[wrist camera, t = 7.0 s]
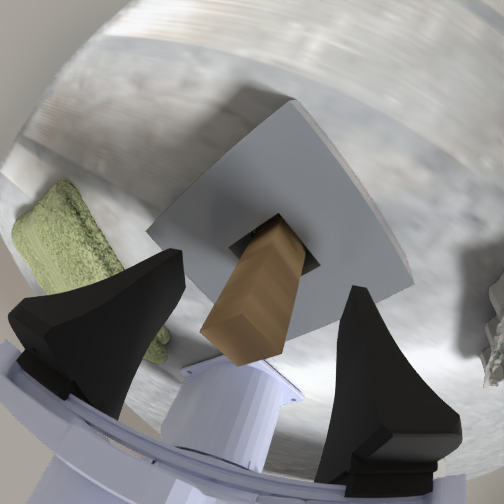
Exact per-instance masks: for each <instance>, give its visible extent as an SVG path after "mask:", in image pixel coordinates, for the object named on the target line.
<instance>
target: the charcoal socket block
mask: <svg viewBox="0 0 504 504" xmlns="http://www.w3.org/2000/svg"><path fill="white" fill-rule="evenodd" d="M277 213H279V214H280V215H281V216H282V217H283V219H284V220H285V221H286V222H287V223H288V225H289V226H290V227H291V228H292V230H293V231H294V232H295V233H296V235H297V236H298V237H299V238H300V240H301V241H302V242H303V243H304V245H305V246H306V247H307V248H308V250H306V254H305V259H304V264H303V268H302V273H301V277H300V282H299V286H298V290H297V295H296V299H295V303H294V307H293V311H292V316H291V320H290V324H289V328H288V332H287V336H286V340H285V341H288V340H291V339H293V338H296V337H298V336H301V335H304V334H306V333H309V332H311V331H314V330H316V329H319V328H321V327H323V326H326V325H328V324H331V323H333V322H335V321H338V320H340V319H341V317H342V314H343V311H344V308H345V305H346V302H347V299H348V296H349V293H350V290H351V287H352V285H356V286H361V287H366V288H367V289H368V291H369V293H370V295H371V297H372V299H373V301H374V303H377V302H380V301H382V300H384V299H386V298H388V297H390V296H392V295H394V294H396V293H398V292H400V291H402V290H404V289H406V288H408V287H410V286H412V285H414V284H415V283H414V280H413V277H412V273H411V270H410V267H409V264H408V261H407V258H406V255H405V254H404V252H403V250H402V248H401V246H400V245H399V243H398V241H397V239H396V238H395V236H394V234H393V233H392V231H391V229H390V228H389V226H388V224H387V223H386V221H385V219H384V218H383V216H382V214H381V213H380V211H379V210H378V208H377V206H376V205H375V203H374V202H373V200H372V199H371V197H370V196H369V194H368V192H367V191H366V189H365V188H364V186H363V185H362V183H361V182H360V181H359V179H358V178H357V176H356V175H355V173H354V172H353V170H352V169H351V168H350V166H349V165H348V163H347V162H346V161H345V159H344V158H343V157H342V155H341V154H340V152H339V151H338V150H337V148H336V147H335V146H334V144H333V143H332V142H331V141H330V139H329V138H328V137H327V135H326V134H325V133H324V131H323V130H322V129H321V128H320V126H319V125H318V124H317V123H316V121H315V120H314V119H313V118H312V117H311V115H310V114H309V113H308V112H307V111H306V109H305V108H304V107H303V106H302V105H301V103H300V102H299V101H298V100H290V101H288V102H287V103H286V104H284V105H283V106H282V107H280V108H279V109H278V110H277V111H275V112H274V113H273V114H272V115H270V116H269V117H268V118H267V119H265V120H264V121H263V122H262V123H261V124H259V125H258V126H257V127H256V128H255V129H253V130H252V131H251V132H250V133H249V134H247V135H246V136H245V137H244V138H243V139H242V140H240V141H239V142H238V143H237V144H236V145H235V146H233V147H232V148H231V149H230V150H229V151H228V152H227V153H226V154H224V155H223V156H222V157H221V158H220V159H219V160H218V161H217V162H215V163H214V164H213V165H212V166H211V167H210V168H209V169H208V170H207V171H206V172H205V173H204V174H202V175H201V176H200V177H199V178H198V179H197V180H196V181H195V182H194V183H193V184H192V185H191V186H190V187H189V188H188V189H187V190H186V191H185V192H184V193H183V194H182V195H181V196H179V197H178V198H177V199H176V200H175V201H174V202H173V203H172V204H171V205H170V206H169V207H168V208H167V209H166V210H165V211H164V212H163V213H162V215H161V216H160V217H159V218H158V219H157V220H156V221H155V222H154V223H153V224H152V225H151V226H150V227H149V228H148V229H147V230H146V232H147V234H148V235H149V236H150V237H151V238H152V239H153V240H154V241H155V242H156V243H157V245H158V246H159V247H160V248H161V249H162V250H163V251H164V250H166V249H169V248H173V249H178V250H182V254H183V265H184V274H185V275H186V276H187V277H188V278H189V279H190V280H191V281H192V282H193V283H194V284H195V285H196V286H197V287H198V288H199V289H200V290H201V291H202V292H203V293H204V294H205V295H206V296H207V297H208V298H209V299H210V300H211V301H212V302H213V303H214V304H215V303H216V301H217V299H218V297H219V296H220V294H221V292H222V290H223V288H224V287H225V285H226V283H227V281H228V280H229V278H230V276H231V274H232V272H233V271H234V269H235V267H236V265H237V263H238V262H239V260H240V258H241V256H242V255H243V253H244V251H245V249H246V247H247V246H248V244H249V242H250V240H251V239H252V237H253V236H252V235H251V234H250V232H251V231H252V230H254V229H255V228H257V227H258V226H260V225H261V224H263V223H264V222H266V221H267V220H269V219H270V218H271V217H273V216H274V215H276V214H277Z"/></svg>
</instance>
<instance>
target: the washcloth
mask: <svg viewBox="0 0 504 504" xmlns="http://www.w3.org/2000/svg"><path fill="white" fill-rule="evenodd" d="M12 241H13V244H14V246H15V248H16V250H17V251H18V253H19V254H20V255H21V257H22V258H23V260H24V261H25V262H26V263H27V265H28V266H29V267H30V269H31V270H32V272H33V274H34V276H35V278H36V280H37V282H38V284H39V285H40V287H41V288H42V289H43V290H44V291H45V293H46V294H47V295H52V294H57V293H62V292H66V291H70V290H74V289H77V288H80V287H84V286H87V285H90V284H93V283H96V282H98V281H101V280H104V279H106V278H108V277H111V276H113V275H115V274H117V273H119V272H121V271H124V269H123V267H122V265H121V263H120V261H118V260H117V257H116V256H115V254H114V252H113V251H112V250H111V248H110V246H109V245H108V243H107V241H106V238H105V236H103V234H102V231H101V230H100V229H99V228H98V227H97V225H96V222H95V221H94V218H93V217H91V214H90V211H89V209H88V207H86V205H85V204H84V202H83V200H82V197H81V194H80V193H79V191H78V190H77V189H76V188H74V187H73V186H72V185H71V184H70V183H69V182H68V181H66V182H64V181H60V182H57V183H55V185H54V186H53V187H52V188H51V189H50V190H49V191H48V192H47V193H46V194H45V195H44V197H43V198H42V199H40V200H39V201H38V202H37V203H36V205H35V207H34V210H33V211H30V212H27V213H26V214H24V215H22V216H20V217H19V218H18V219H17V220H16V222H15V223H14V225H13V229H12ZM170 338H171V336H170V334H169V333H168V330H166V329H165V327H164V326H162V328H161V329H160V331H159V332H158V334H157V335H156V337H155V338H154V340H153V341H152V343H151V344H150V346H149V348H148V349H147V351H146V353H145V355H144V357H143V359H147V360H149V361H151V362H153V363H156V364H160V363H164V362H165V361H166V360H167V358H168V355H167V354H168V353H167V349H166V348H165V347H164V346H163V345H165V344H166V343H167V342H168V341H169V340H170Z"/></svg>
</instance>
